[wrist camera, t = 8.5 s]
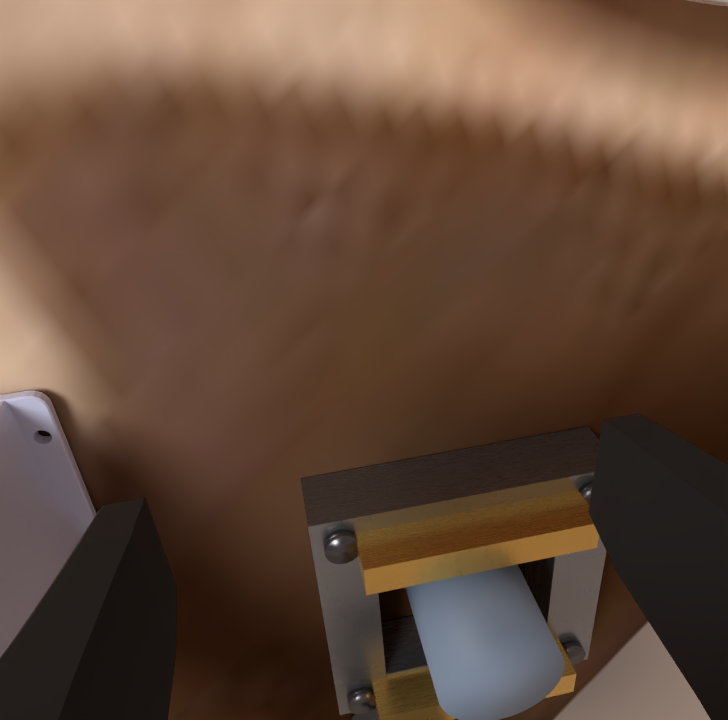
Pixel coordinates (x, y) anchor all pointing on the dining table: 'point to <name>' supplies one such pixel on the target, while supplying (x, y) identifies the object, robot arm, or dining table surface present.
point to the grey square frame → (451, 555)
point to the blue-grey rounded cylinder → (485, 643)
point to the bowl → (712, 2)
